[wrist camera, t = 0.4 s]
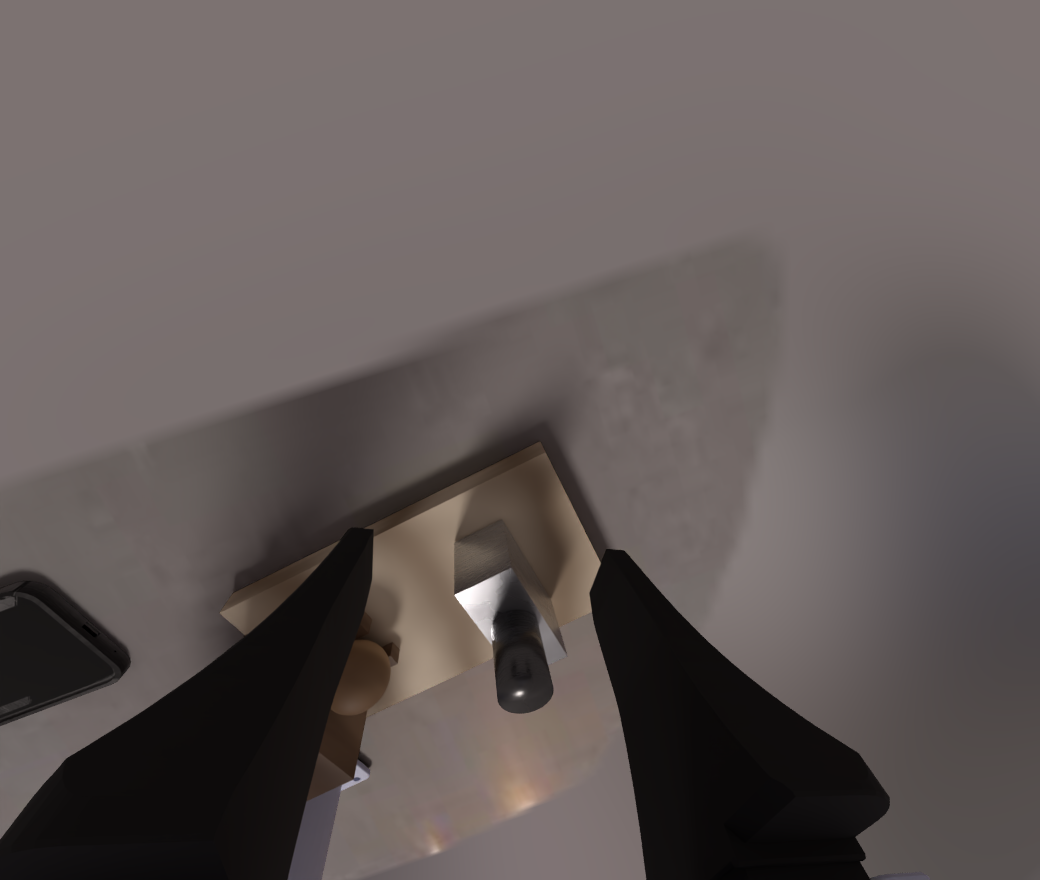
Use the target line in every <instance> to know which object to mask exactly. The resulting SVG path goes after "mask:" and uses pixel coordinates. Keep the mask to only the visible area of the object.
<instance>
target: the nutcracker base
mask: <svg viewBox="0 0 1040 880" xmlns="http://www.w3.org/2000/svg"><path fill="white" fill-rule="evenodd" d="M499 520H503V521H504V523H505V524H506V526H507V528H508V529H509V531H510V533H511V534H512V536H513V538H514V539H515V541H516V543H517V544H518V546H519V548H520V549H521V551H522V553H523V554H524V556H525V558H526V559H527V561H528V562H529V564H530V566H531V567H532V569H533V571H534V572H535V574H536V576H537V577H538V579H539V581H540V582H541V584H542V586H543V587H544V589H545V591H546V592H547V594H548V596H549V597H550V599H551V601H552V604H553V607H554V611H555V614H556V618H557V621H558V625H559V627H560V626H563V625H565V624H567V623H569V622H571V621H573V620H575V619H577V618H580V617H582V616H584V615H586V614H588V613H590V612H592V609H591V602H590V595H589V592H590V590H591V587H592V585H593V582H594V580H595V577H596V574H597V572H598V569H599V567H600V564H601V562H600V560H599V558H598V556H597V554H596V552H595V550H594V548H593V546H592V544H591V542H590V540H589V538H588V536H587V534H586V532H585V530H584V528H583V526H582V524H581V522H580V520H579V518H578V516H577V514H576V512H575V510H574V508H573V506H572V504H571V502H570V500H569V498H568V496H567V494H566V492H565V490H564V488H563V486H562V484H561V482H560V480H559V478H558V476H557V474H556V472H555V470H554V468H553V466H552V464H551V462H550V460H549V458H548V456H547V454H546V452H545V450H544V448H543V446H542V444H541V442H540V441H539V442H537V443H535V444H533V445H531V446H529V447H527V448H525V449H523V450H521V451H519V452H517V453H515V454H513V455H511V456H509V457H507V458H505V459H503V460H501V461H499V462H497V463H495V464H493V465H491V466H489V467H487V468H485V469H483V470H481V471H479V472H477V473H475V474H473V475H471V476H469V477H467V478H465V479H463V480H461V481H459V482H457V483H455V484H452V485H450V486H448V487H446V488H444V489H442V490H440V491H438V492H436V493H434V494H432V495H430V496H428V497H426V498H424V499H422V500H420V501H418V502H416V503H414V504H412V505H410V506H408V507H406V508H404V509H402V510H400V511H398V512H396V513H394V514H392V515H390V516H388V517H386V518H384V519H382V520H380V521H378V522H376V523H374V524H372V525H370V526H368V527H366V528H364V529H374V538H373V571H372V582H371V587H370V591H369V595H368V599H367V603H366V607H365V611H364V615H363V618H362V620H361V623H360V626H359V629H358V632H357V635H356V637H355V640H369V641H372V642H375V643H377V644H378V645H379V646H381V647H382V648H383V649H384V651H385V652H386V654H387V656H388V658H389V661H390V667H391V674H390V680H389V684H388V686H387V689H386V691H385V693H384V694H383V696H382V697H381V699H380V700H379V701H378V702H377V703H376V704H375V705H374V706H373V707H371V708H370V709H368V710H367V711H365V712H363V713H360V714H357V715H341V714H338V713H336V712H334V711H333V710H331V709H330V712H329V716H328V720H327V724H326V727H325V731H324V735H323V739H322V742H321V746H320V750H319V754H318V758H317V762H316V766H315V769H314V773H313V777H312V781H311V785H310V789H309V793H308V797H307V801H308V800H311V799H313V798H315V797H317V796H319V795H321V794H323V793H326V792H328V791H330V790H332V789H334V788H336V787H339V786H341V785H343V784H345V783H347V782H349V781H352V780H354V776H355V771H356V766H357V761H358V756H359V751H360V745H361V740H362V735H363V730H364V725H365V720H366V718H367V717H369V716H371V715H373V714H375V713H377V712H380V711H382V710H384V709H386V708H388V707H390V706H392V705H395V704H397V703H399V702H401V701H403V700H405V699H407V698H409V697H412V696H414V695H416V694H418V693H420V692H422V691H424V690H426V689H429V688H431V687H433V686H435V685H437V684H439V683H441V682H443V681H446V680H448V679H450V678H452V677H454V676H456V675H458V674H460V673H463V672H465V671H467V670H469V669H471V668H473V667H475V666H477V665H480V664H482V663H484V662H486V661H488V660H490V659H492V658H493V647H492V645H491V643H490V642H489V641H488V640H487V638H486V637H485V636H484V634H483V633H482V632H481V630H480V629H479V628H478V626H477V625H476V624H475V622H474V621H473V620H472V618H471V617H470V616H469V614H468V613H467V612H466V610H465V609H464V608H463V606H462V605H461V604H460V602H459V601H458V600H457V598H456V597H455V596H454V542H456V541H458V540H460V539H463V538H465V537H467V536H469V535H471V534H473V533H475V532H477V531H479V530H481V529H483V528H485V527H487V526H489V525H491V524H493V523H495V522H497V521H499ZM339 541H340V540H339ZM339 541H337V542H335V543H333V544H331V545H329V546H327V547H325V548H323V549H321V550H319V551H317V552H315V553H313V554H311V555H309V556H307V557H305V558H303V559H301V560H299V561H297V562H295V563H293V564H291V565H289V566H287V567H285V568H283V569H281V570H279V571H277V572H275V573H273V574H271V575H269V576H267V577H265V578H262V579H260V580H258V581H256V582H254V583H252V584H250V585H248V586H246V587H244V588H242V589H240V590H238V591H236V592H234V593H233V594H232V595H231V597H230V598H229V600H228V601H227V602H226V604H225V605H224V607H223V608H222V610H221V611H220V614H221V615H222V616H223V617H224V618H225V619H227V620H228V621H229V622H230V623H231V624H232V625H234V626H235V627H236V628H237V629H238V630H239V631H240V632H242V633H243V634H244V635H245V636H246V635H247V634H248V633H249V632H251V631H252V630H253V629H254V628H255V627H256V626H258V625H259V624H260V623H261V622H262V621H263V620H264V619H266V618H267V617H268V616H269V615H270V614H271V613H272V612H273V611H274V610H275V609H276V608H278V607H279V606H280V605H281V604H282V603H283V602H284V601H285V600H286V599H287V598H288V597H289V596H290V595H291V594H292V593H293V592H294V591H295V590H296V589H297V588H298V587H299V586H300V585H301V584H302V583H303V582H304V581H305V580H306V579H307V578H308V577H309V575H310V574H311V573H312V572H313V571H314V570H315V569H316V568H317V567H318V566H319V565H320V564H321V562H322V561H323V560H324V559H325V558H326V557H327V556H328V554H329V553H330V552H331V551H332V550H333V548H334V547H335V546H336V545H337V544H338V542H339ZM245 636H244V637H245ZM244 637H243V638H244ZM355 640H354V641H355Z"/></svg>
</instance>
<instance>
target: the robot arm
mask: <svg viewBox="0 0 1040 880" xmlns="http://www.w3.org/2000/svg"><path fill="white" fill-rule="evenodd" d="M373 538H374V529H364V528H350V529H349V530H348V531H347V532H346V533H345V535H344V536H343V537H342V539H341V540H340V541H339V542H338V544H337V545H336V546H335V547H334V548H333V550H332V551H331V552H330V553H329V554H328V556H327V557H326V558H325V559H324V560H323V561H322V562H321V564H320V565H319V566H318V567H317V568H316V569H315V570H314V571H313V572H312V573H311V574H310V575H309V577H308V578H307V579H306V580H305V581H304V582H303V583H302V584H301V585H300V586H299V587H298V588H297V589H296V590H295V591H294V592H293V593H292V594H291V595H290V596H289V597H288V598H287V599H286V600H285V601H284V602H283V603H282V604H281V605H280V606H279V607H278V608H276V609H275V610H274V611H273V612H272V613H271V614H270V615H269V616H268V617H267V618H266V619H264V620H263V621H262V622H261V623H260V624H259V625H258V626H256V627H255V628H254V629H253V630H252V631H251V632H249V633H248V634H247V635H246V636H245V637H244V638H242V639H241V640H240V641H239V642H237V643H236V644H235V645H234V646H232V647H231V648H230V649H229V650H227V651H226V652H225V653H223V654H222V655H221V656H220V657H218V658H217V659H216V660H215V661H213V662H212V663H211V664H209V665H208V666H207V667H205V668H204V669H203V670H201V671H200V672H199V673H197V674H196V675H195V676H193V677H192V678H190V679H189V680H187V681H186V682H184V683H183V684H182V685H180V686H179V687H177V688H176V689H174V690H173V691H172V692H170V693H169V694H167V695H166V696H164V697H163V698H161V699H160V700H159V701H157V702H156V703H154V704H153V705H151V706H150V707H148V708H147V709H145V710H144V711H142V712H141V713H139V714H138V715H136V716H135V717H133V718H131V719H130V720H128V721H127V722H125V723H123V724H122V725H120V726H119V727H117V728H115V729H114V730H112V731H110V732H109V733H107V734H106V735H104V736H102V737H101V738H99V739H98V740H96V741H94V742H93V743H91V744H90V745H88V746H86V747H85V748H83V749H81V750H80V751H78V752H76V753H75V754H73V755H71V756H70V757H68V758H66V760H65V761H64V762H63V763H62V764H61V766H60V767H59V768H58V769H57V770H56V771H55V772H54V774H53V775H52V776H51V777H50V778H49V779H48V780H47V781H46V782H45V783H44V784H43V786H42V787H41V788H40V789H39V790H38V792H37V793H36V794H35V795H34V796H33V798H32V799H31V800H30V801H29V803H28V804H27V805H26V807H25V808H24V809H23V811H22V812H21V813H20V814H19V816H18V817H17V818H16V820H15V821H14V822H13V824H12V825H11V826H10V828H9V829H8V830H7V831H6V833H5V834H4V835H3V837H2V838H1V839H0V880H322V875H323V870H324V866H325V861H326V857H327V852H328V847H329V843H330V838H331V834H332V829H333V824H334V820H335V815H336V811H337V806H338V801H339V797H340V792H341V791H342V790H344V789H346V788H348V787H350V786H353V785H355V784H357V783H359V782H361V781H363V780H366V779H367V778H368V777H369V775H370V769H369V768H368V767H366V766H365V765H364V764H363V763H362V762H360V761H359V760H358V761H357V766H356V771H355V776H354V780H352V781H349V782H347V783H345V784H343V785H341V786H339V787H336V788H334V789H332V790H330V791H328V792H326V793H323V794H321V795H319V796H317V797H315V798H313V799H311V800H308V801H307V797H308V793H309V789H310V785H311V781H312V777H313V773H314V769H315V766H316V762H317V758H318V754H319V750H320V746H321V742H322V739H323V735H324V731H325V727H326V724H327V720H328V716H329V712H330V709H331V706H332V703H333V699H334V696H335V693H336V690H337V687H338V685H339V682H340V679H341V676H342V673H343V671H344V668H345V665H346V662H347V660H348V657H349V654H350V651H351V648H352V646H353V643H354V640H355V637H356V635H357V632H358V629H359V626H360V623H361V620H362V618H363V615H364V611H365V607H366V603H367V599H368V595H369V591H370V587H371V582H372V571H373ZM589 595H590V602H591V609H592V615H593V620H594V625H595V629H596V633H597V636H598V640H599V643H600V647H601V650H602V653H603V657H604V660H605V663H606V667H607V670H608V674H609V677H610V680H611V684H612V687H613V690H614V694H615V697H616V701H617V705H618V709H619V713H620V717H621V722H622V727H623V732H624V737H625V742H626V747H627V753H628V759H629V764H630V769H631V775H632V781H633V787H634V793H635V800H636V807H637V813H638V820H639V826H640V833H641V840H642V849H643V856H644V864H645V872H646V880H930V878H929V877H928V876H927V875H926V874H924V873H922V872H913V873H898V874H885V875H879V876H876V877H873V878H869V877H868V875H867V873H866V872H865V870H864V868H863V867H862V865H861V863H860V861H863V860H865V859H866V857H865V853H864V851H863V849H862V848H861V846H860V844H859V843H858V841H857V839H856V838H855V837H856V836H857V835H858V834H860V833H861V832H862V831H864V830H865V829H867V828H868V827H869V826H871V825H872V824H874V823H875V822H876V821H878V820H879V819H880V818H881V817H882V816H883V815H885V814H886V812H887V811H888V809H889V806H890V798H889V796H888V794H887V793H886V792H885V790H884V789H883V787H882V786H881V784H880V783H879V782H878V780H877V779H876V777H875V776H874V774H873V773H872V772H871V770H870V769H869V767H868V766H867V765H866V763H865V762H864V760H863V759H862V757H861V756H860V755H859V753H857V752H856V751H854V750H853V749H851V748H849V747H848V746H846V745H845V744H843V743H842V742H840V741H838V740H837V739H835V738H834V737H832V736H831V735H829V734H827V733H826V732H824V731H823V730H821V729H820V728H818V727H816V726H815V725H813V724H812V723H810V722H809V721H807V720H806V719H804V718H803V717H802V716H800V715H799V714H797V713H796V712H795V711H793V710H792V709H790V708H789V707H788V706H786V705H785V704H783V703H782V702H781V701H779V700H778V699H777V698H775V697H774V696H772V695H771V694H770V693H769V692H767V691H766V690H765V689H763V688H762V687H761V686H760V685H758V684H757V683H756V682H755V681H753V680H752V679H751V678H749V677H748V676H747V675H746V674H744V673H743V672H742V671H741V670H740V669H738V668H737V667H736V666H735V665H734V664H732V663H731V662H730V661H729V660H728V659H727V658H726V657H725V656H723V655H722V654H721V653H720V652H719V651H718V650H717V649H716V648H715V647H713V646H712V645H711V644H710V643H709V642H708V641H707V640H706V639H705V638H704V637H703V636H702V635H701V634H700V633H699V632H698V631H697V630H696V629H695V628H694V627H693V626H692V625H691V624H690V623H689V622H688V621H687V620H686V619H685V618H684V617H683V616H682V615H681V614H680V613H679V612H678V611H677V610H676V609H675V608H674V607H673V605H672V604H671V603H670V602H669V601H668V600H667V599H666V598H665V597H664V595H663V594H662V593H661V592H660V591H659V590H658V589H657V588H656V586H655V585H654V584H653V583H652V582H651V581H650V580H649V578H648V577H647V576H646V575H645V574H644V573H643V571H642V570H641V569H640V568H639V567H638V566H637V564H636V563H635V562H634V561H633V560H632V559H631V557H630V556H629V555H628V554H627V553H626V552H625V551H624V550H612V549H606V551H605V554H604V556H603V559H602V562H601V564H600V567H599V569H598V572H597V574H596V577H595V580H594V582H593V585H592V587H591V590H590V592H589Z"/></svg>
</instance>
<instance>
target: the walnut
mask: <svg viewBox="0 0 1040 880" xmlns="http://www.w3.org/2000/svg"><path fill="white" fill-rule="evenodd" d="M390 674H391V667H390V661H389V658H388V656H387V654H386V652H385V651H384V649H383V648H382V647H381V646H379V645H378V644H377V643H375V642H372V641H369V640H355V641H354V643H353V646H352V648H351V651H350V654H349V657H348V660H347V662H346V665H345V668H344V671H343V673H342V676H341V679H340V682H339V685H338V687H337V690H336V693H335V696H334V699H333V703H332V706H331V710H333V711H334V712H336V713H338V714H341V715H357V714H360V713H363V712H365V711H367V710H368V709H370V708H371V707H373V706H374V705H375V704H376V703H377V702H378V701H379V700H380V699H381V697H382V696H383V694H384V693H385V691H386V689H387V686H388V684H389V680H390Z"/></svg>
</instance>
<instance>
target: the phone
mask: <svg viewBox="0 0 1040 880" xmlns="http://www.w3.org/2000/svg"><path fill="white" fill-rule="evenodd" d="M84 624H85V625H86V626H87V627H89V628H90V629H91V630H92V631H93V632H94V633H96V634H97V636H96V637H95V638H94V637H93V636H92V635H90V634H89V633H88V632H87V631H86V630H85V629H83V628H82V626H83V625H84ZM115 650H116V651H117V652H116V653H115V652H114V651H115ZM130 664H131V661H130V658H129V657H128V656H127V654H126V653H125V652H123V651H122V650H121V649H120V648H119V647H118V646H117V645H115V644H114V643H113V642H112V641H111V640H110V639H109V638H108V637H106V636H105V635H104V634H103V633H102V632H101V631H100V630H98V629H97V628H96V627H95V626H94V625H93V624H92V623H90V622H89V621H88V620H87V619H86V618H85V617H84V616H83V615H81V614H80V613H79V612H78V611H77V610H76V609H75V608H73V607H72V606H71V605H70V604H69V603H68V602H67V601H65V600H64V599H63V598H62V597H61V596H60V595H59V594H57V593H56V592H55V591H54V590H53V589H51V588H50V587H48V586H46V585H44V584H41V583H38V582H33V581H22V582H17V583H14V584H11V585H9V586H6V587H3V588H1V589H0V726H2V725H4V724H7V723H10V722H12V721H15V720H18V719H20V718H23V717H26V716H28V715H31V714H34V713H36V712H39V711H42V710H44V709H47V708H50V707H52V706H55V705H58V704H61V703H63V702H66V701H69V700H71V699H74V698H77V697H79V696H82V695H85V694H87V693H90V692H93V691H95V690H98V689H101V688H103V687H106V686H109V685H112V684H114V683H116V682H117V681H118V680H119V679H120V678H121V677H122V676H123V674H124V673H125V672H126V671H127V669H128V668H129V667H130Z"/></svg>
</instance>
